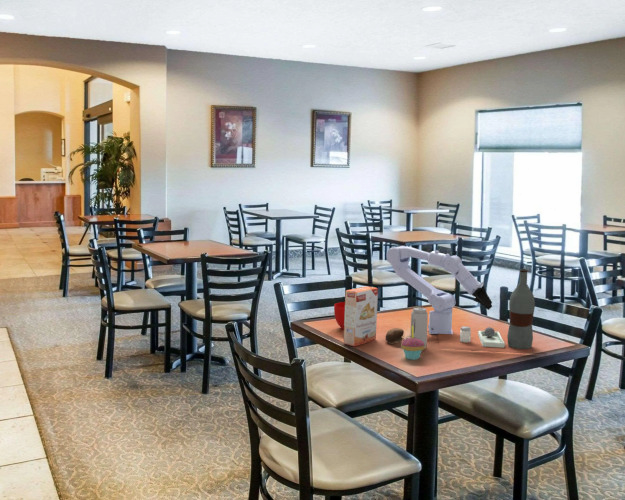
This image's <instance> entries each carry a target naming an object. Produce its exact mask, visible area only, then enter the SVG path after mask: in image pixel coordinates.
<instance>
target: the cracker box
mask: <svg viewBox="0 0 625 500" xmlns="http://www.w3.org/2000/svg"><path fill="white" fill-rule="evenodd" d="M344 293H345V294H344V295H345V297H344V302H345V319H344V330H343V344H344V345H348V346H352V347H357V346H361V345H364V344H366V343H367V344H368V343H370V342H374V341H376V340H377V320H378V319H377V318H378V299H379V288H377V287H374V286H369V285H368V286H367V285H366V286H363V287H357V288H352V289H347V290H345V292H344Z"/></svg>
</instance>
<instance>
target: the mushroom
mask: <svg viewBox="0 0 625 500" xmlns="http://www.w3.org/2000/svg"><path fill="white" fill-rule="evenodd" d="M404 333H405V331H404V330H403V328H400V327H394V328H391V329H389V330H388V331H386V334H385V341H386V342H387V343H388V344H390V345H391V344H396V343H400V342H402V341H404V340H405V339H404V338H403V336H404Z"/></svg>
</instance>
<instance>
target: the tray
mask: <svg viewBox="0 0 625 500" xmlns="http://www.w3.org/2000/svg"><path fill="white" fill-rule="evenodd" d="M484 331H485V330H478V331H477V336H478V338H479V341H480V344H481V346H482V347H483V348H485V347H486V348H487V347H488V348H502V349H503V348H505V345H506V343H505V341H504V340H503V336H501V334H500V331H495V334H494V336H493V337H487V336H486V335H485V333H484Z"/></svg>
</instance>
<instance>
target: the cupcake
mask: <svg viewBox="0 0 625 500" xmlns="http://www.w3.org/2000/svg"><path fill="white" fill-rule="evenodd" d="M400 347H401V349H402V350H403V353H404V356H405V358H406V359H408V360H413V361H414V360H415V361H416V360H419V359H420V356H421V353H422V351H425V349H426V347H425V343H424V342H423V341H422V340H420V339H417V338H414V326H413V323H412V338H410V337H407V338H405V339H403V340H402V341H401V344H400Z"/></svg>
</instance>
